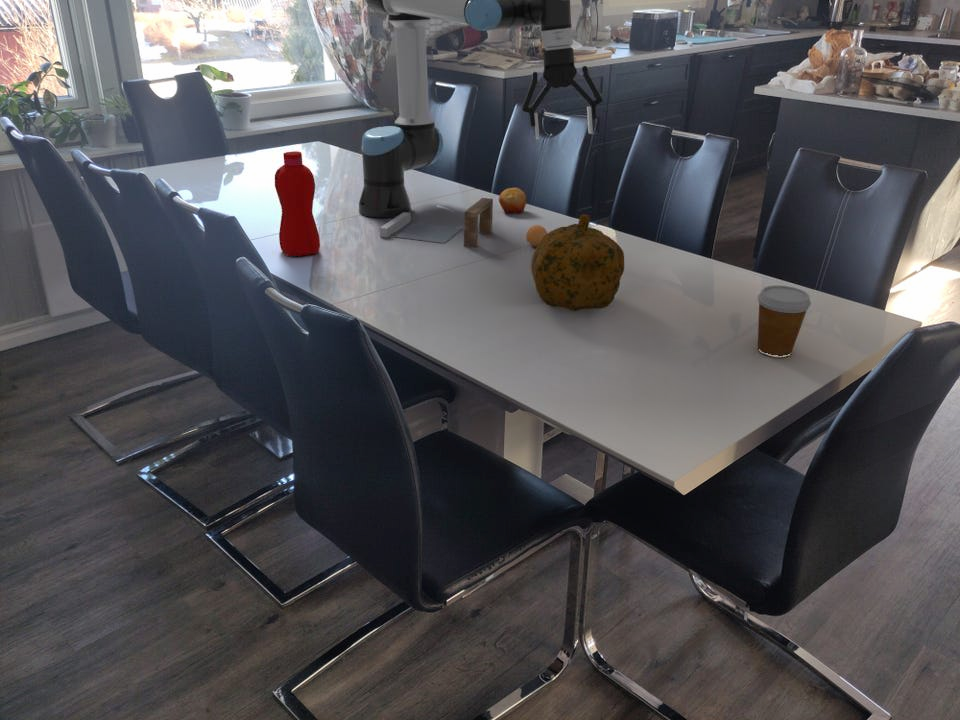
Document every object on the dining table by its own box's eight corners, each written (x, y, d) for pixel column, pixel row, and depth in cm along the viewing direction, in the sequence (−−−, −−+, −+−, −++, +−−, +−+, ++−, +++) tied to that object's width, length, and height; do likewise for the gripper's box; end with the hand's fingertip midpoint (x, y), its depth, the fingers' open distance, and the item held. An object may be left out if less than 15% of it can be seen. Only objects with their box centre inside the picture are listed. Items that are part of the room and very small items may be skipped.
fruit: (526, 202, 249) (527, 183, 243) (525, 222, 245) (525, 203, 238) (500, 201, 250) (499, 182, 243) (498, 221, 246) (497, 201, 239)
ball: (523, 247, 215) (524, 227, 213) (529, 241, 220) (529, 221, 217) (544, 250, 214) (545, 229, 211) (549, 244, 218) (550, 223, 216)
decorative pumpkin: (505, 294, 183) (517, 205, 175) (575, 283, 195) (589, 199, 187) (565, 328, 169) (581, 233, 160) (636, 314, 181) (655, 225, 172)
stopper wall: (380, 236, 221) (379, 227, 220) (403, 220, 235) (403, 212, 234) (386, 237, 221) (386, 228, 220) (410, 221, 234) (410, 212, 233)
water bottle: (311, 242, 216) (304, 145, 205) (323, 255, 207) (316, 154, 196) (276, 246, 212) (267, 148, 201) (286, 259, 204) (277, 157, 193)
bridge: (464, 246, 215) (464, 211, 211) (481, 230, 228) (482, 197, 224) (474, 247, 215) (475, 212, 211) (492, 231, 227) (492, 198, 223)
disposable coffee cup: (741, 341, 165) (751, 284, 159) (787, 340, 165) (798, 284, 160) (759, 362, 156) (770, 303, 151) (808, 361, 157) (821, 302, 152)
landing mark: (395, 237, 221) (395, 236, 221) (415, 223, 233) (415, 222, 233) (444, 243, 217) (444, 242, 217) (462, 228, 229) (462, 228, 229)
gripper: (508, 54, 202) (516, 143, 209) (610, 42, 201) (615, 132, 209) (507, 54, 209) (515, 140, 216) (605, 42, 208) (610, 129, 216)
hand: (564, 136), depth 212 cm, fingers open, 13 cm apart
